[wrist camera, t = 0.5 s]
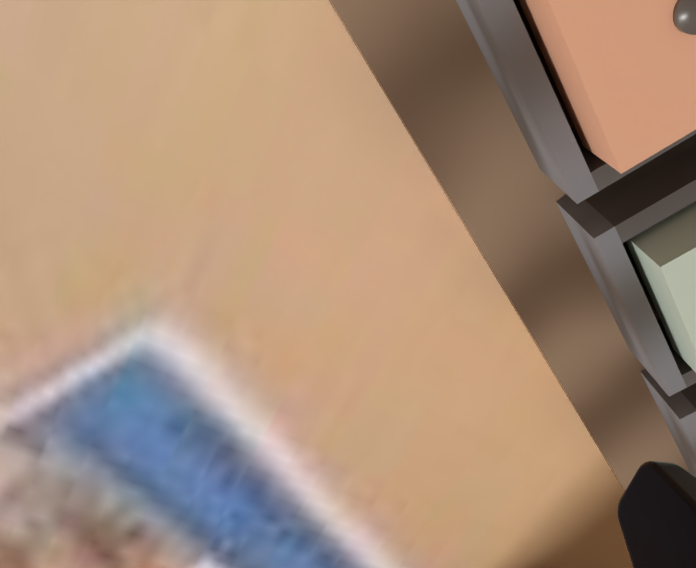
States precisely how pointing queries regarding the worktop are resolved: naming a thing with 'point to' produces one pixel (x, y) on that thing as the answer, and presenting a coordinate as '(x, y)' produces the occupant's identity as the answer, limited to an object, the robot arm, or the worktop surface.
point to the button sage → (671, 276)
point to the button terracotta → (621, 71)
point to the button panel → (543, 210)
